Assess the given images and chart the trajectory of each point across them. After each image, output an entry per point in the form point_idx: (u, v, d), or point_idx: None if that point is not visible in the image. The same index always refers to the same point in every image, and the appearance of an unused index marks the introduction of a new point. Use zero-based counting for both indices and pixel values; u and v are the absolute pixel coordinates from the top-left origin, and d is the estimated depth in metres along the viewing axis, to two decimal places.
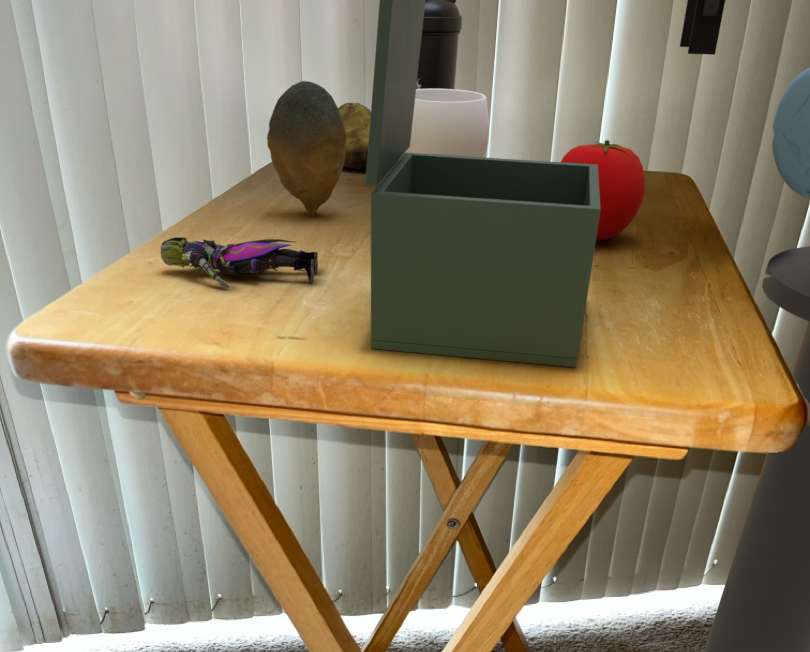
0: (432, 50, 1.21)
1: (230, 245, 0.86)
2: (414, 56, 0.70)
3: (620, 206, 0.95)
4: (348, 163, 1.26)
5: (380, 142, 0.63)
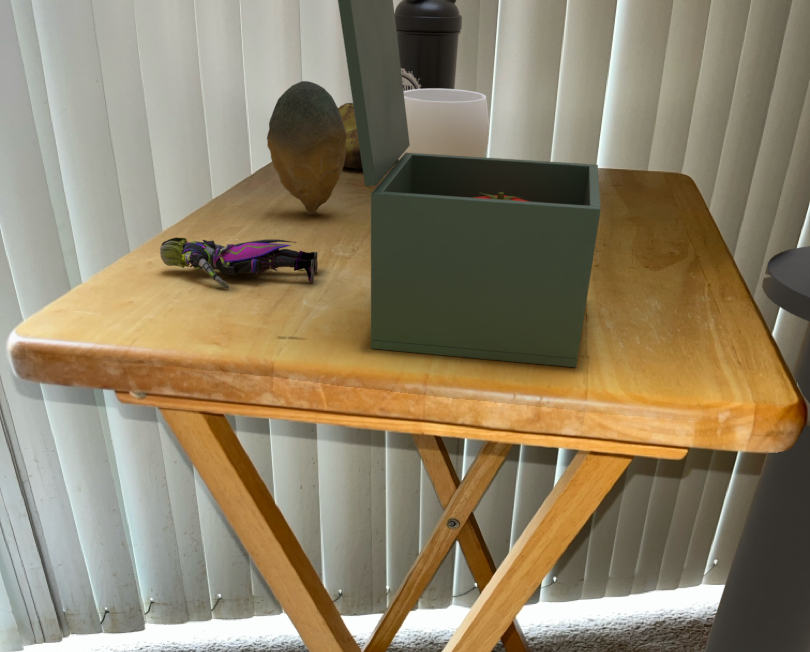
0: (432, 50, 1.21)
1: (230, 245, 0.85)
2: (392, 54, 0.71)
3: None
4: (348, 163, 1.26)
5: (370, 140, 0.63)
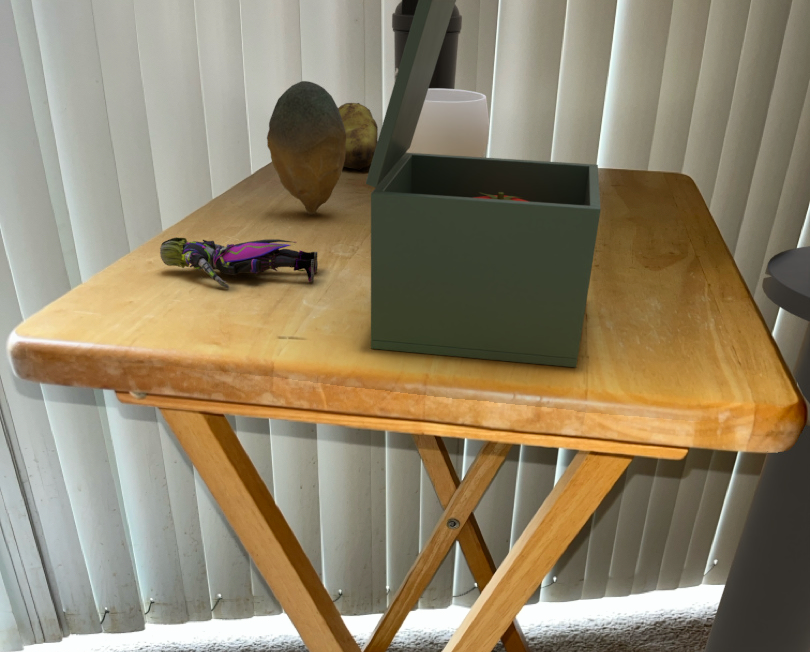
0: None
1: (230, 245, 0.85)
2: (432, 62, 0.70)
3: None
4: (348, 163, 1.26)
5: (388, 146, 0.63)
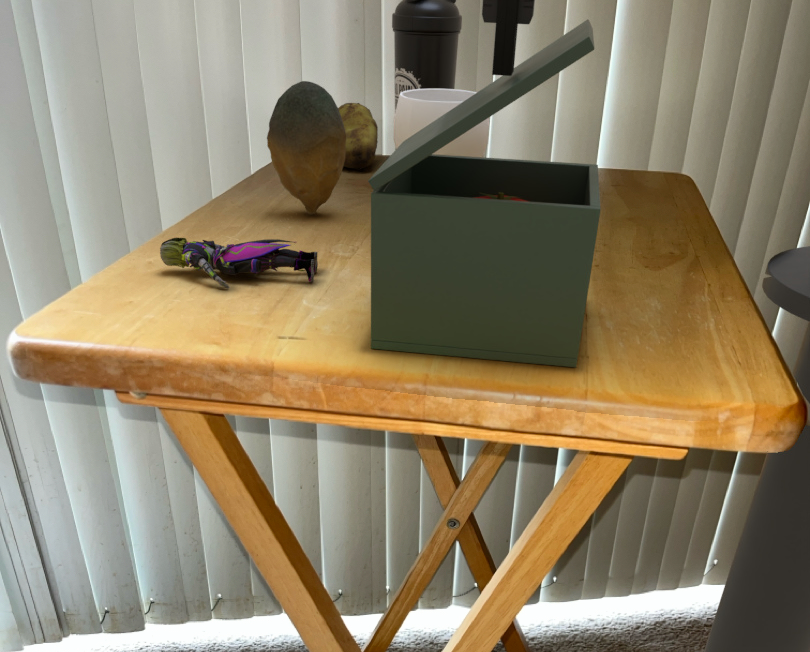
0: (432, 50, 1.21)
1: (230, 245, 0.85)
2: None
3: None
4: (348, 163, 1.26)
5: (408, 168, 0.64)
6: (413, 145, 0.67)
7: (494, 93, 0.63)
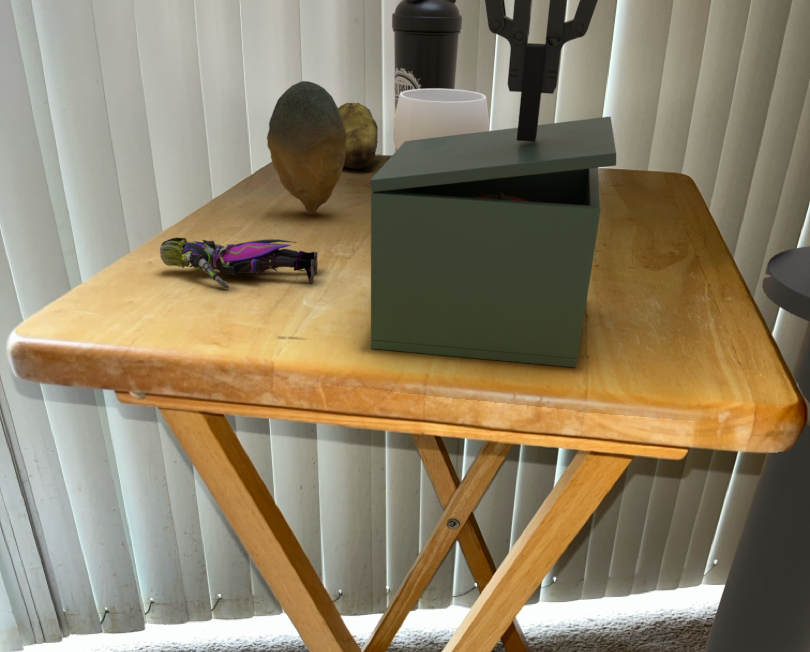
0: (432, 50, 1.21)
1: (230, 245, 0.85)
2: None
3: None
4: (348, 163, 1.26)
5: None
6: (421, 162, 0.67)
7: (513, 154, 0.65)
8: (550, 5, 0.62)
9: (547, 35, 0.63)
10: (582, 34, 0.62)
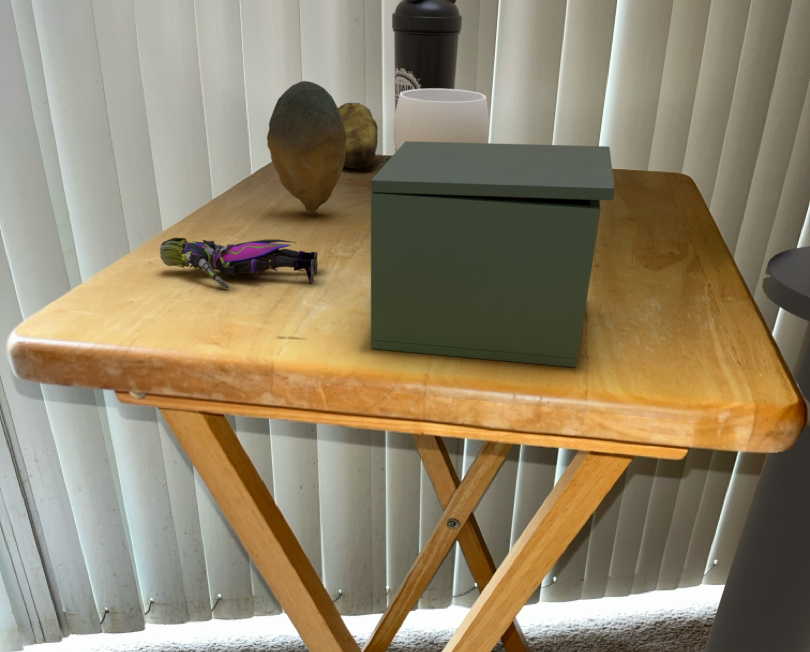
0: (432, 50, 1.21)
1: (230, 245, 0.85)
2: None
3: None
4: (348, 163, 1.26)
5: None
6: (422, 168, 0.68)
7: (514, 173, 0.66)
8: None
9: None
10: None
